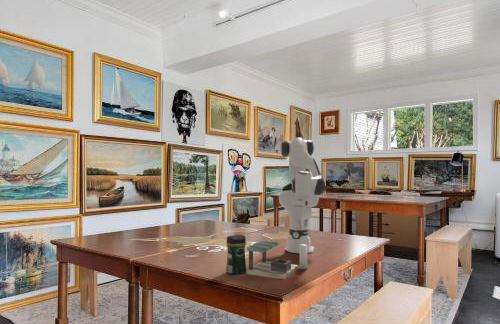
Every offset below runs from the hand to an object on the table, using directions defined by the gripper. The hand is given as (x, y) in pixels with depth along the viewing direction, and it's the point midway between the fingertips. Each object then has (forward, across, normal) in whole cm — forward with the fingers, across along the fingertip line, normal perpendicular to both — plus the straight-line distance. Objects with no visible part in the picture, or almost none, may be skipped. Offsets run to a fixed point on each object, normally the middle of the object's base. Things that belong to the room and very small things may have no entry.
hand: (303, 227), depth 180 cm
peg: (+21, 0, 0) cm, 21 cm away
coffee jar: (+21, +23, -28) cm, 42 cm away
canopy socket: (+21, +13, -12) cm, 27 cm away
